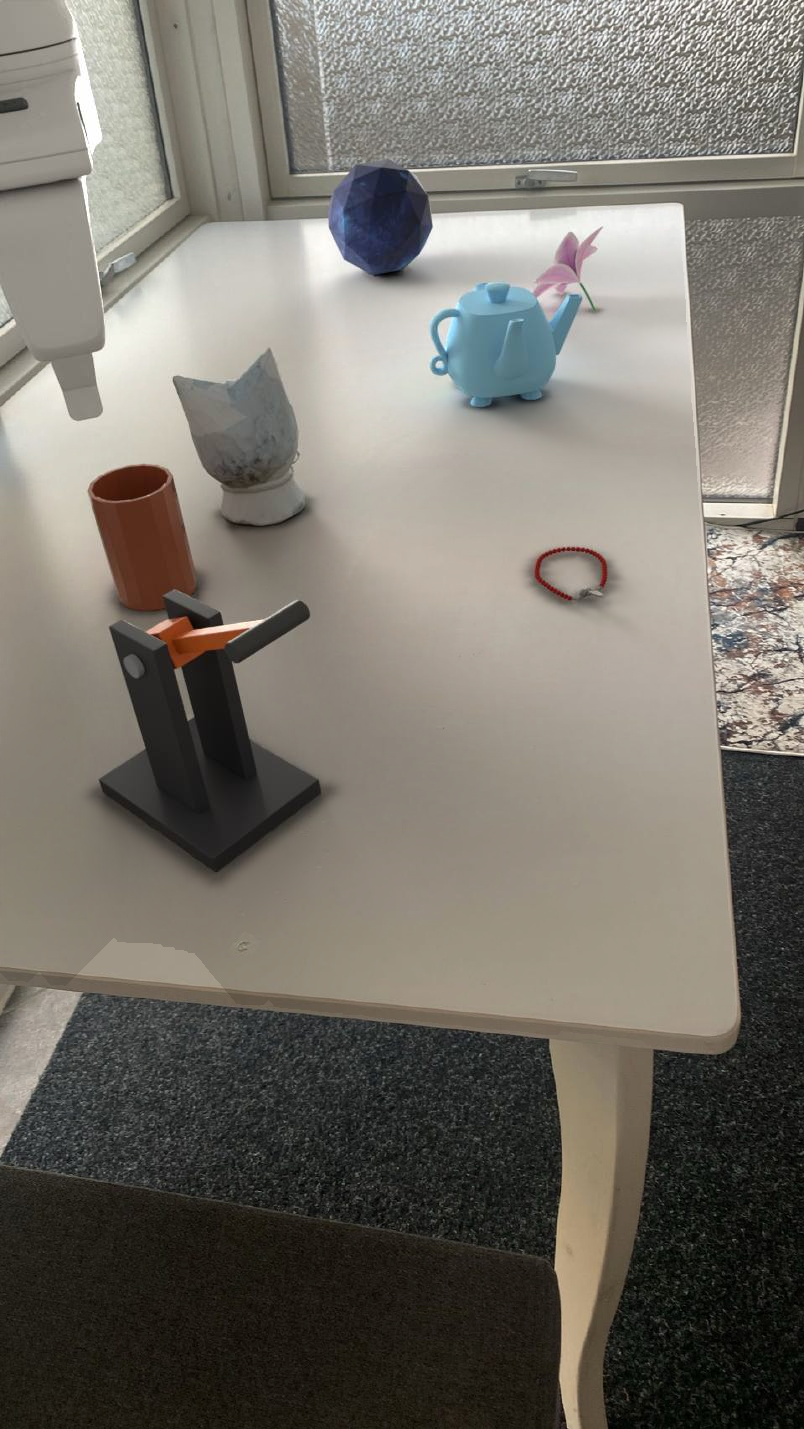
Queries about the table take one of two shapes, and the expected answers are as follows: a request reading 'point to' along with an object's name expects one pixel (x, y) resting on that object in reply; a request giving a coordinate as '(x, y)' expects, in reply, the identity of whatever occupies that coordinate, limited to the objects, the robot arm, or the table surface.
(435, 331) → the teapot
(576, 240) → the lily
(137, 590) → the cup
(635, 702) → the table surface
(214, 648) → the switch lever
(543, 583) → the red beaded bracelet
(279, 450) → the figurine
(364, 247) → the decorative orb
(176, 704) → the pivoting lever stand
